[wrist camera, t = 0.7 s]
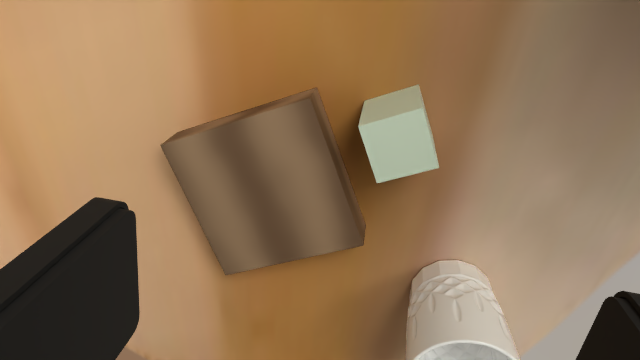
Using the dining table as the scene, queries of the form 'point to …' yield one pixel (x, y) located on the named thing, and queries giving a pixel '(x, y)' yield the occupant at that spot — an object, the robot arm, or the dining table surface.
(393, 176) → the sage block
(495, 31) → the dining table surface
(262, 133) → the walnut base
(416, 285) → the white cup
